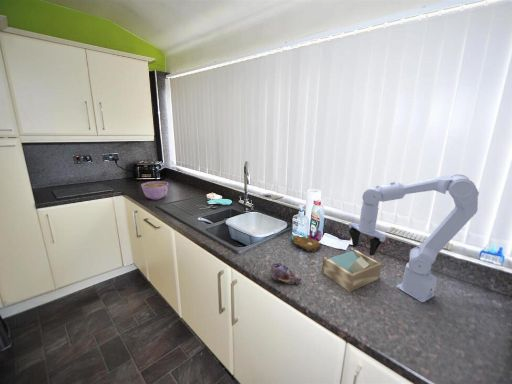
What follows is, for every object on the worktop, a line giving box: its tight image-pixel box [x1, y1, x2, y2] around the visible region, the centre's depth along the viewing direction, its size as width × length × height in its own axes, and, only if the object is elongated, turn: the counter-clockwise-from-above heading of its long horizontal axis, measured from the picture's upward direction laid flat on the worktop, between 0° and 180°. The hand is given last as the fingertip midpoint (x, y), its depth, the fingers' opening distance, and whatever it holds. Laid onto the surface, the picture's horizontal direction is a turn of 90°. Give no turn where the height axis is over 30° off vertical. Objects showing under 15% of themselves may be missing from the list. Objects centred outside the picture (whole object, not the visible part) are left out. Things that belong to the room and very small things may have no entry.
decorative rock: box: [292, 235, 322, 253], centre depth 119 cm, size 11×4×15 cm
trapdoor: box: [329, 250, 358, 274], centre depth 96 cm, size 11×14×1 cm
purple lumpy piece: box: [269, 262, 302, 285], centre depth 91 cm, size 12×8×6 cm, turn 59°
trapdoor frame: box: [321, 247, 383, 293], centre depth 95 cm, size 14×17×7 cm
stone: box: [349, 257, 369, 273], centre depth 93 cm, size 4×4×6 cm
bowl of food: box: [140, 180, 169, 201], centre depth 187 cm, size 20×20×12 cm
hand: (363, 250), depth 95 cm, fingers open, 7 cm apart
